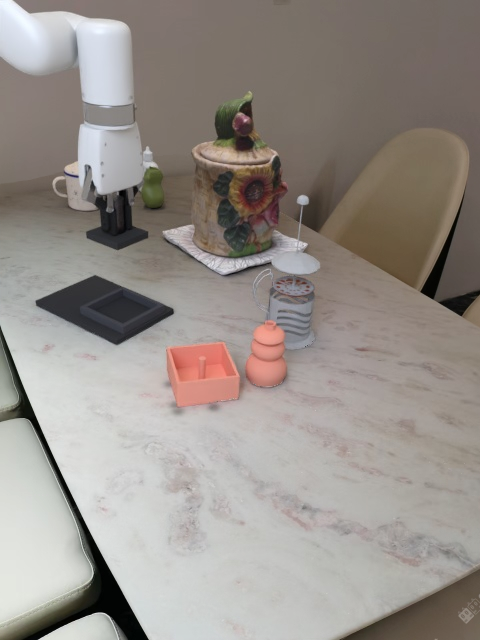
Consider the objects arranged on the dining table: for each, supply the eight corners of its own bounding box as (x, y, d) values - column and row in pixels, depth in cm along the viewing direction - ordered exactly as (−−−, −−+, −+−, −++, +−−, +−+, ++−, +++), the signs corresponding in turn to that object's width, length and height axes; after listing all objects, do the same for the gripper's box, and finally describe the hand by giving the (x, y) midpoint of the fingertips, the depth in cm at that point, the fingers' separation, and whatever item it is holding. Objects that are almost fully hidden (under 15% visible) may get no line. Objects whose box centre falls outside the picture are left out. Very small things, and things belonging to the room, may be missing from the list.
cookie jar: (157, 237, 135) (153, 84, 117) (241, 218, 149) (249, 79, 131) (224, 280, 120) (232, 112, 102) (310, 253, 135) (330, 102, 117)
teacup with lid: (102, 198, 153) (98, 151, 146) (108, 210, 146) (105, 162, 140) (53, 200, 149) (47, 153, 142) (57, 213, 142) (51, 164, 135)
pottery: (177, 407, 86) (177, 350, 80) (166, 369, 93) (165, 315, 88) (294, 392, 91) (301, 338, 86) (275, 358, 98) (281, 306, 93)
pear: (156, 202, 154) (155, 162, 148) (168, 208, 151) (168, 168, 145) (138, 205, 150) (136, 166, 145) (149, 212, 147) (148, 172, 142)
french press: (321, 349, 102) (342, 207, 88) (254, 350, 100) (265, 206, 86) (308, 319, 110) (326, 185, 96) (246, 320, 108) (255, 183, 94)
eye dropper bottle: (153, 188, 162) (152, 143, 155) (160, 195, 158) (159, 149, 151) (138, 190, 160) (136, 144, 153) (144, 197, 156) (142, 150, 149)
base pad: (35, 305, 106) (33, 293, 105) (95, 279, 116) (94, 267, 115) (117, 345, 98) (116, 332, 96) (173, 313, 108) (173, 301, 106)
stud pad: (86, 238, 99) (82, 197, 95) (117, 226, 104) (115, 187, 101) (117, 250, 96) (114, 208, 92) (148, 238, 101) (147, 197, 98)
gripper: (129, 102, 97) (134, 212, 107) (48, 116, 85) (63, 237, 95) (164, 111, 94) (166, 223, 104) (85, 127, 82) (96, 251, 92)
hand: (117, 229), depth 99 cm, fingers closed on stud pad, 2 cm apart
